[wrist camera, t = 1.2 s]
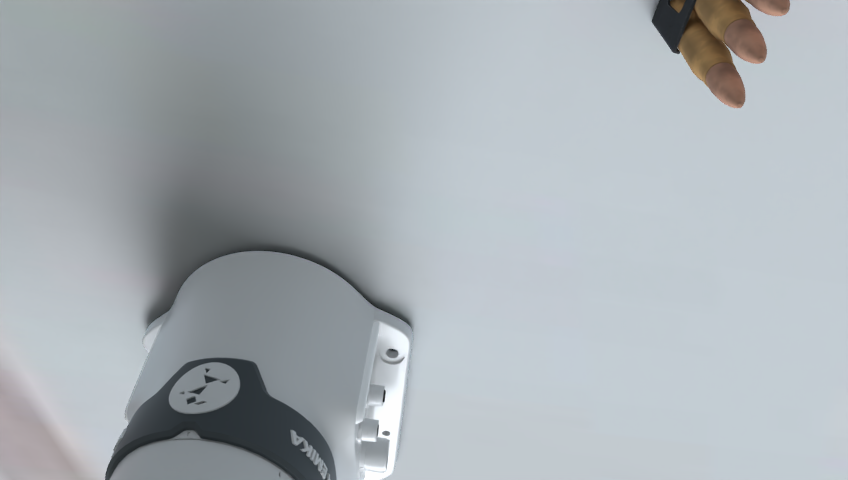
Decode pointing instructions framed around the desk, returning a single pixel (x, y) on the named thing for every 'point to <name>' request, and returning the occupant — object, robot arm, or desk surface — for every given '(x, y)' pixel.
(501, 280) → the desk surface
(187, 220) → the desk surface
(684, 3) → the ammunition clip
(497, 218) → the desk surface
